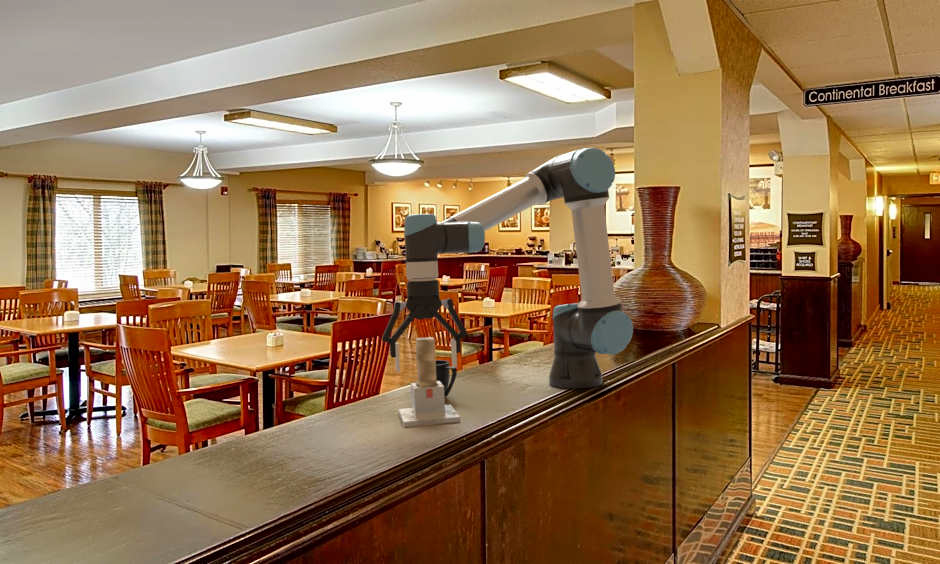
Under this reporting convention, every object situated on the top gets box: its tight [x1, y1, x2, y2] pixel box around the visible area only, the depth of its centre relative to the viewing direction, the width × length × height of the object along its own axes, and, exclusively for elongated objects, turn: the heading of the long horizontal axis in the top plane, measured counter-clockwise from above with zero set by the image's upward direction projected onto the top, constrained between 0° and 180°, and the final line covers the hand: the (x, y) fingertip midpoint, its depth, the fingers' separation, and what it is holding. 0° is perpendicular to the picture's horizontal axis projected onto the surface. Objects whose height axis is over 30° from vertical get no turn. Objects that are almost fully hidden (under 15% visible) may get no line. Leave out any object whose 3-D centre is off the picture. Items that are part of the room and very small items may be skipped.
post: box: [415, 336, 437, 387], centre depth 160 cm, size 4×4×19 cm
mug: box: [436, 359, 458, 398], centre depth 181 cm, size 8×12×10 cm
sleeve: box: [398, 381, 461, 428], centre depth 161 cm, size 13×13×8 cm
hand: (426, 369), depth 160 cm, fingers open, 13 cm apart
